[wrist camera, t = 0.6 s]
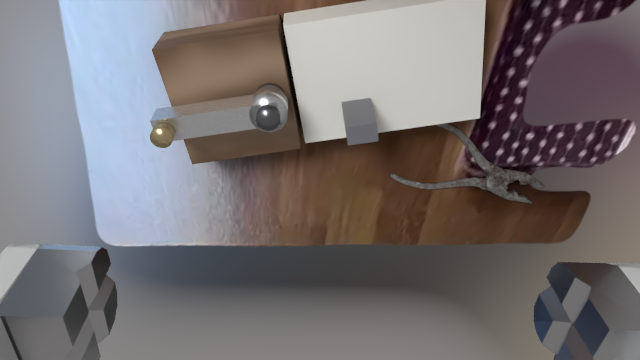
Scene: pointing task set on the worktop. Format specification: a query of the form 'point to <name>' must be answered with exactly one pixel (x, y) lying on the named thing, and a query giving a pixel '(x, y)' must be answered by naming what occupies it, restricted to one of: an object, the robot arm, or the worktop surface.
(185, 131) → the lock bar
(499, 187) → the pliers
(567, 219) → the worktop surface
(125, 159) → the worktop surface
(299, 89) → the door panel
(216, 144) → the jamb block
